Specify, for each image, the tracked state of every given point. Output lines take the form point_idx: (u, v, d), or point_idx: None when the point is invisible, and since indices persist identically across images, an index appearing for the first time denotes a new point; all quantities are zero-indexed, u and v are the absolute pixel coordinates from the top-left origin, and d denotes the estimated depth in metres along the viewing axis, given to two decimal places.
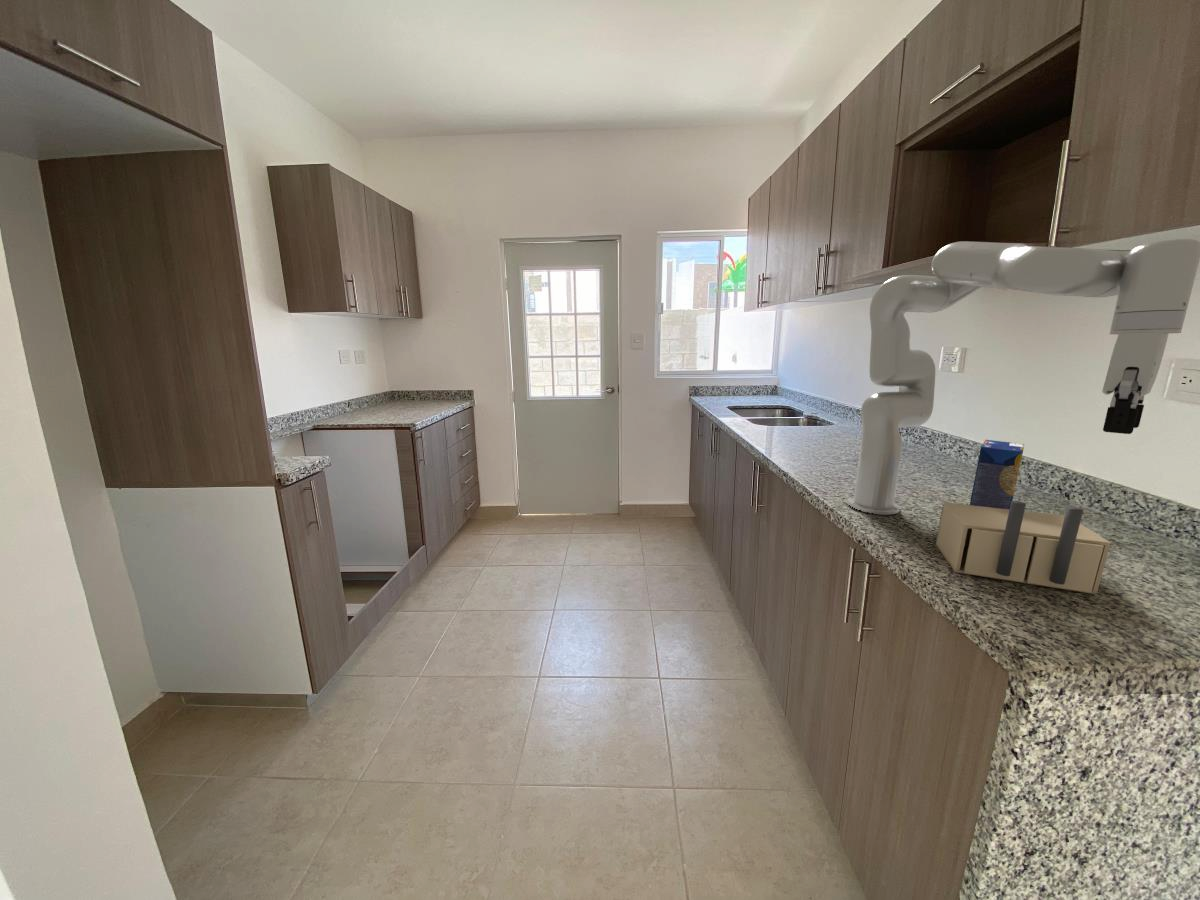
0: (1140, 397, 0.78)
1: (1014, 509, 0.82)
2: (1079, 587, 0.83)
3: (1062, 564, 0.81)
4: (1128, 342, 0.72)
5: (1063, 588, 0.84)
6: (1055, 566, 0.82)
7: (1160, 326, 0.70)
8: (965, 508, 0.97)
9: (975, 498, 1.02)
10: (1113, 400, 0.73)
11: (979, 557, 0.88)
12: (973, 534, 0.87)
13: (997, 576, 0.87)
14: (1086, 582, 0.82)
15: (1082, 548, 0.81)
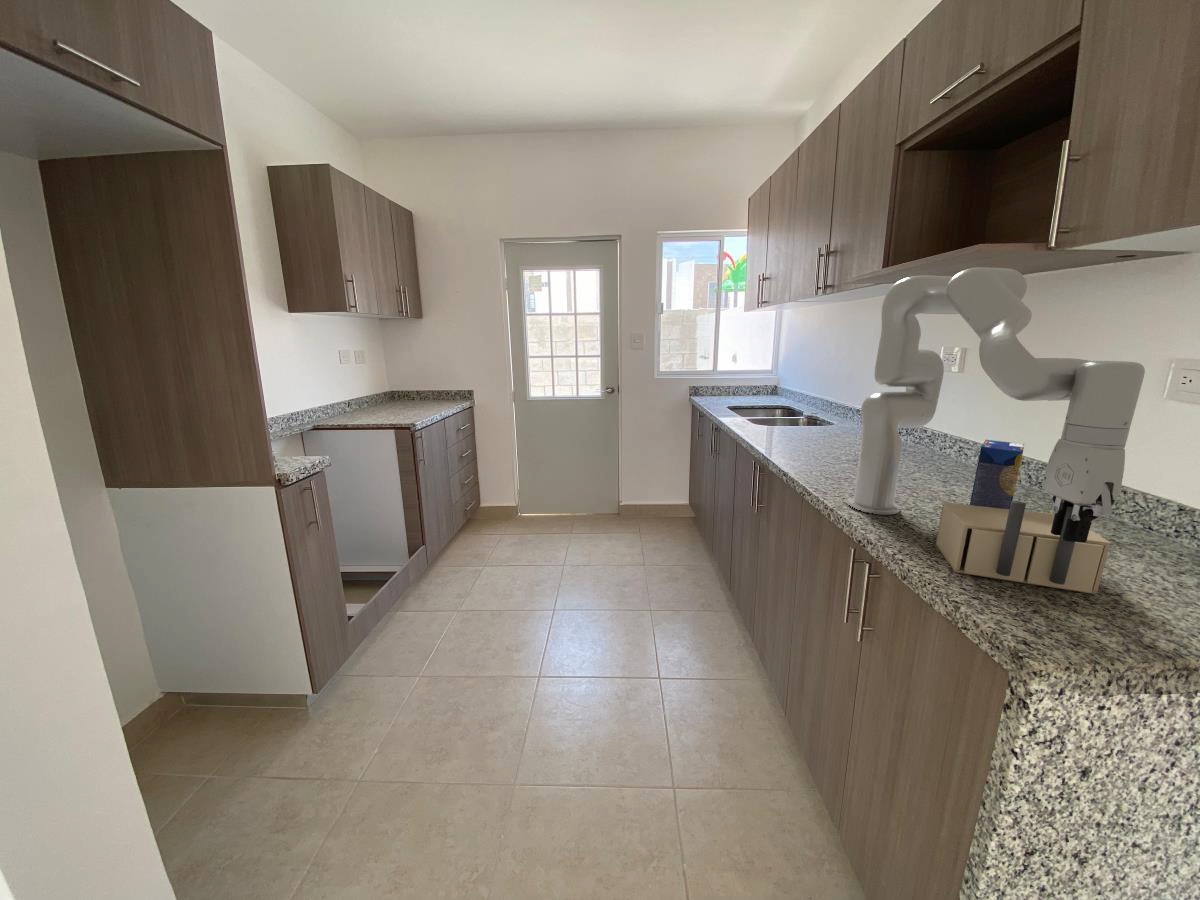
0: None
1: (1014, 509, 0.82)
2: (1079, 587, 0.83)
3: (1062, 564, 0.81)
4: (1105, 458, 0.73)
5: (1063, 588, 0.84)
6: (1055, 566, 0.82)
7: (1122, 443, 0.73)
8: (965, 508, 0.97)
9: (975, 498, 1.02)
10: (1078, 516, 0.78)
11: (979, 557, 0.88)
12: (973, 534, 0.87)
13: (997, 576, 0.87)
14: (1086, 582, 0.82)
15: (1082, 548, 0.81)
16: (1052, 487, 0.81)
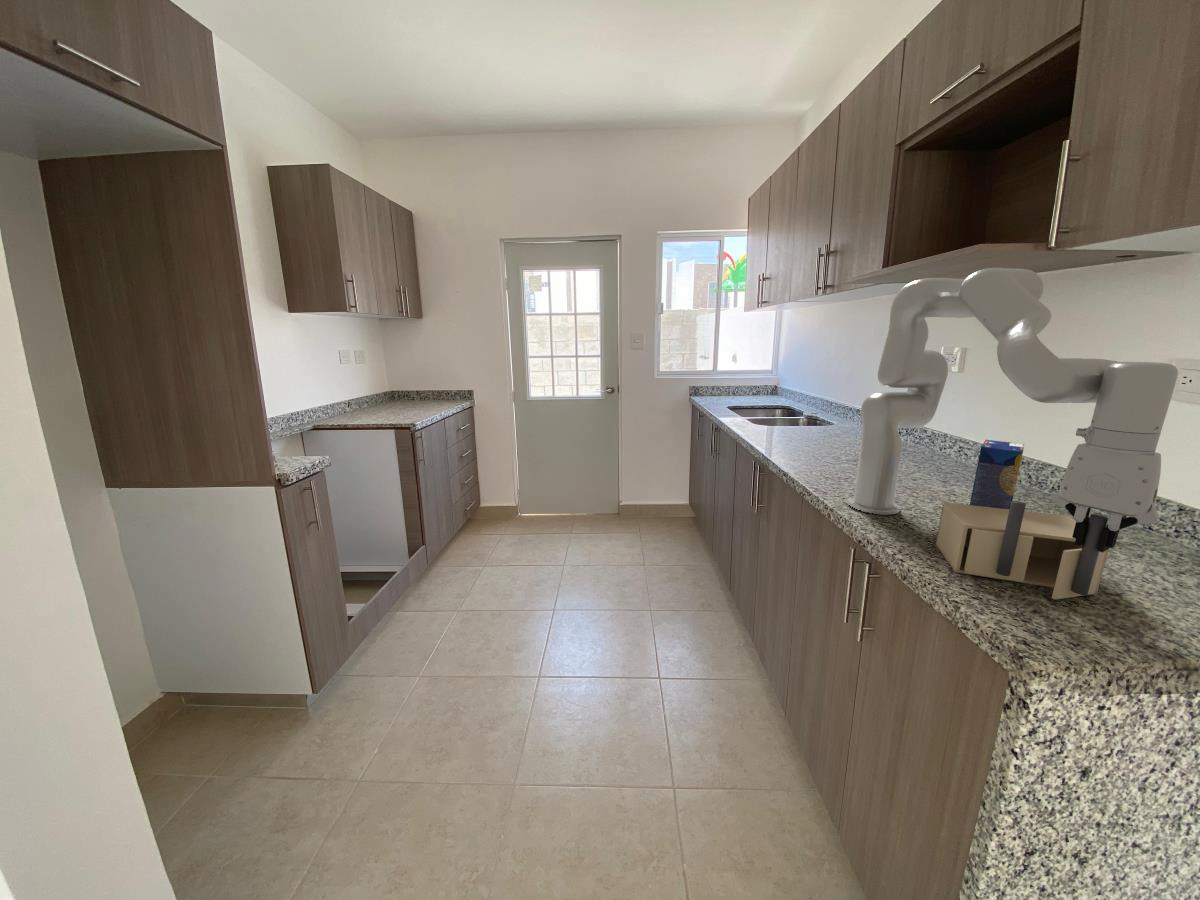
0: None
1: (1014, 509, 0.82)
2: (1087, 591, 0.81)
3: (1090, 575, 0.78)
4: (1158, 465, 0.69)
5: None
6: (1082, 578, 0.78)
7: None
8: (965, 508, 0.97)
9: (975, 498, 1.02)
10: (1119, 526, 0.74)
11: (979, 557, 0.88)
12: (973, 534, 0.87)
13: (997, 576, 0.87)
14: (1092, 585, 0.81)
15: None
16: (1082, 498, 0.76)
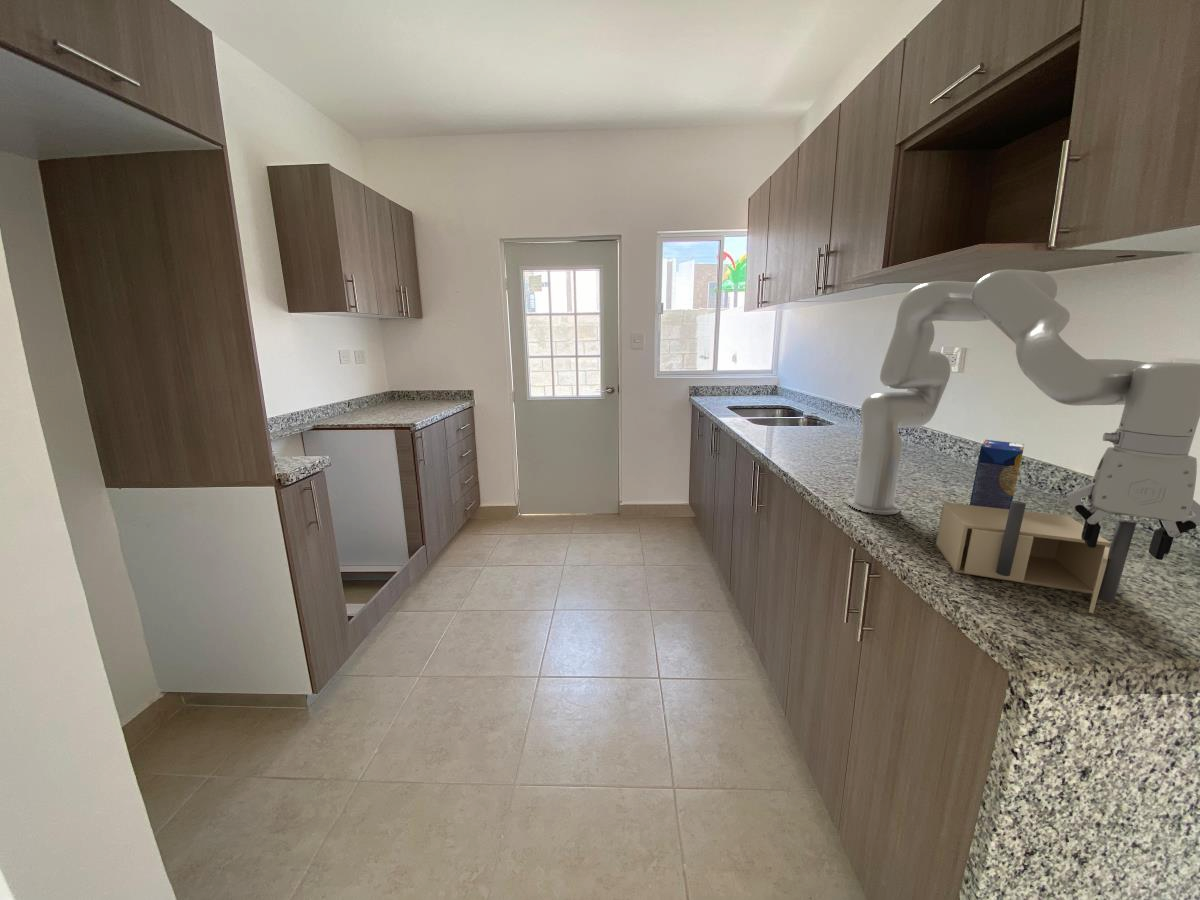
0: None
1: (1014, 509, 0.82)
2: None
3: None
4: None
5: (1063, 588, 0.84)
6: (1113, 586, 0.75)
7: None
8: (965, 508, 0.97)
9: (974, 498, 1.02)
10: (1178, 530, 0.70)
11: (979, 557, 0.88)
12: (973, 534, 0.87)
13: (997, 576, 0.87)
14: None
15: None
16: (1123, 506, 0.72)
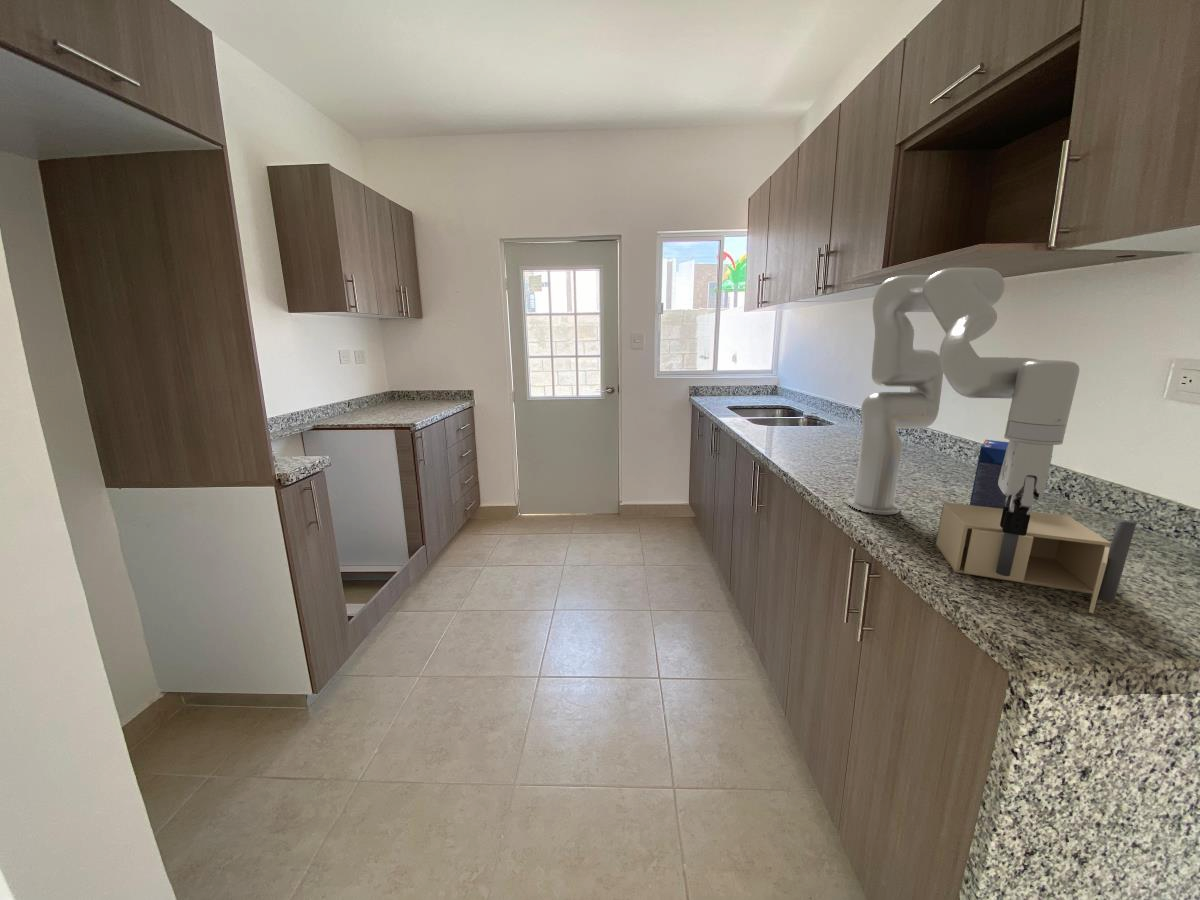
0: None
1: None
2: None
3: None
4: (1027, 452, 0.77)
5: (1063, 588, 0.84)
6: (1113, 586, 0.75)
7: (1051, 439, 0.76)
8: (965, 508, 0.97)
9: (975, 498, 1.02)
10: (1011, 508, 0.81)
11: (979, 557, 0.88)
12: (973, 534, 0.87)
13: (997, 576, 0.87)
14: None
15: None
16: (1000, 481, 0.85)
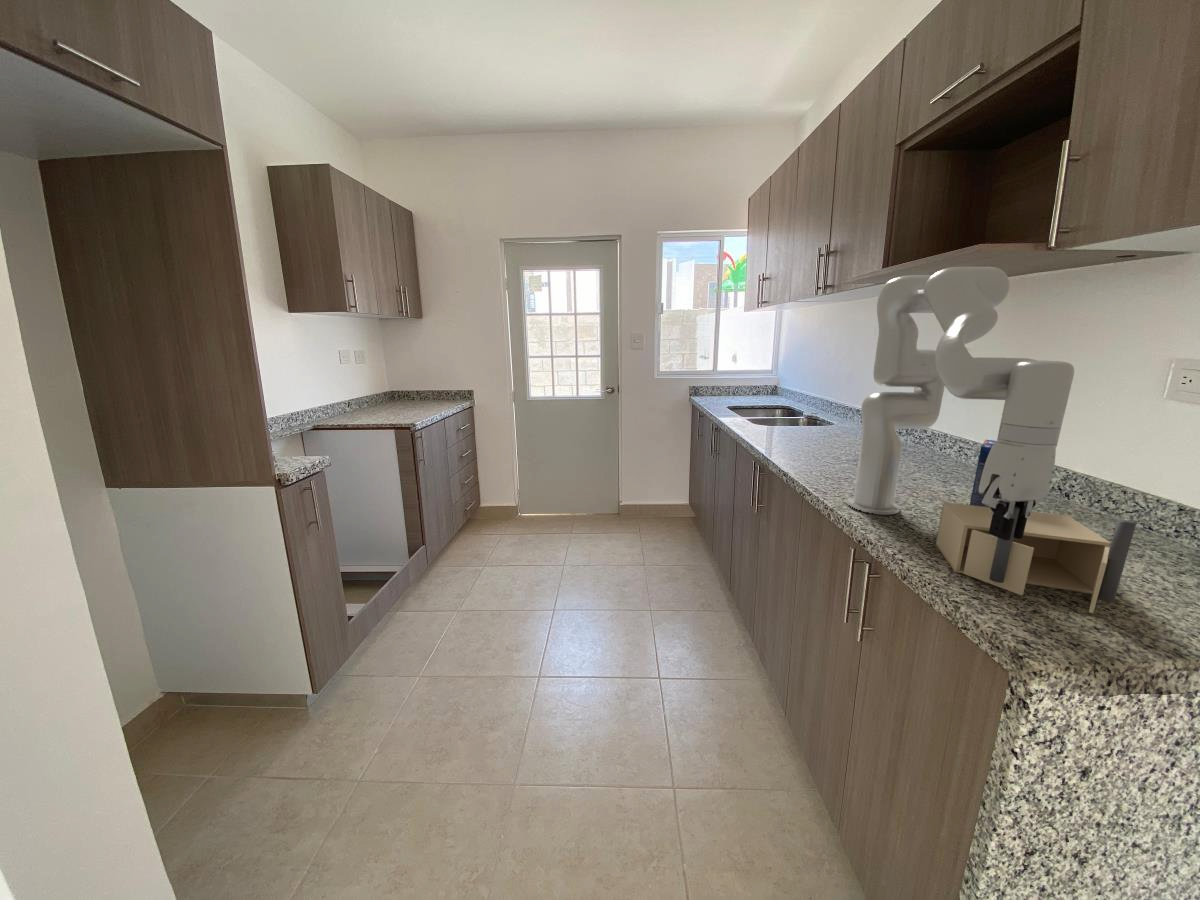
0: (1025, 506, 0.80)
1: None
2: None
3: None
4: (995, 451, 0.78)
5: (1063, 588, 0.84)
6: (1113, 586, 0.75)
7: (1023, 440, 0.75)
8: (965, 508, 0.97)
9: (975, 498, 1.02)
10: None
11: (977, 560, 0.87)
12: (972, 535, 0.87)
13: (995, 583, 0.84)
14: None
15: None
16: None
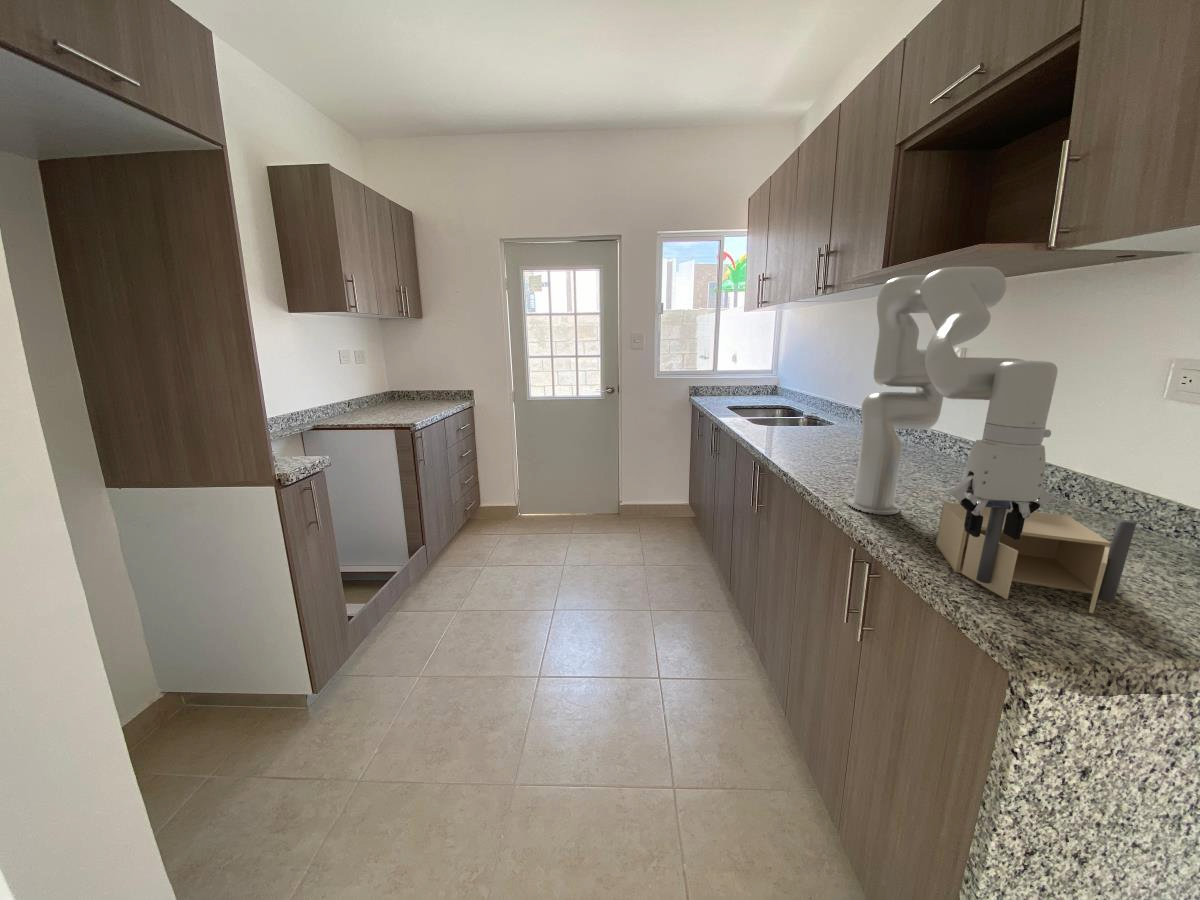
0: (1019, 508, 0.79)
1: (990, 512, 0.81)
2: None
3: None
4: (973, 449, 0.80)
5: (1063, 588, 0.84)
6: (1113, 586, 0.75)
7: (996, 439, 0.76)
8: None
9: None
10: None
11: (972, 560, 0.86)
12: (970, 535, 0.87)
13: (985, 585, 0.84)
14: None
15: None
16: None
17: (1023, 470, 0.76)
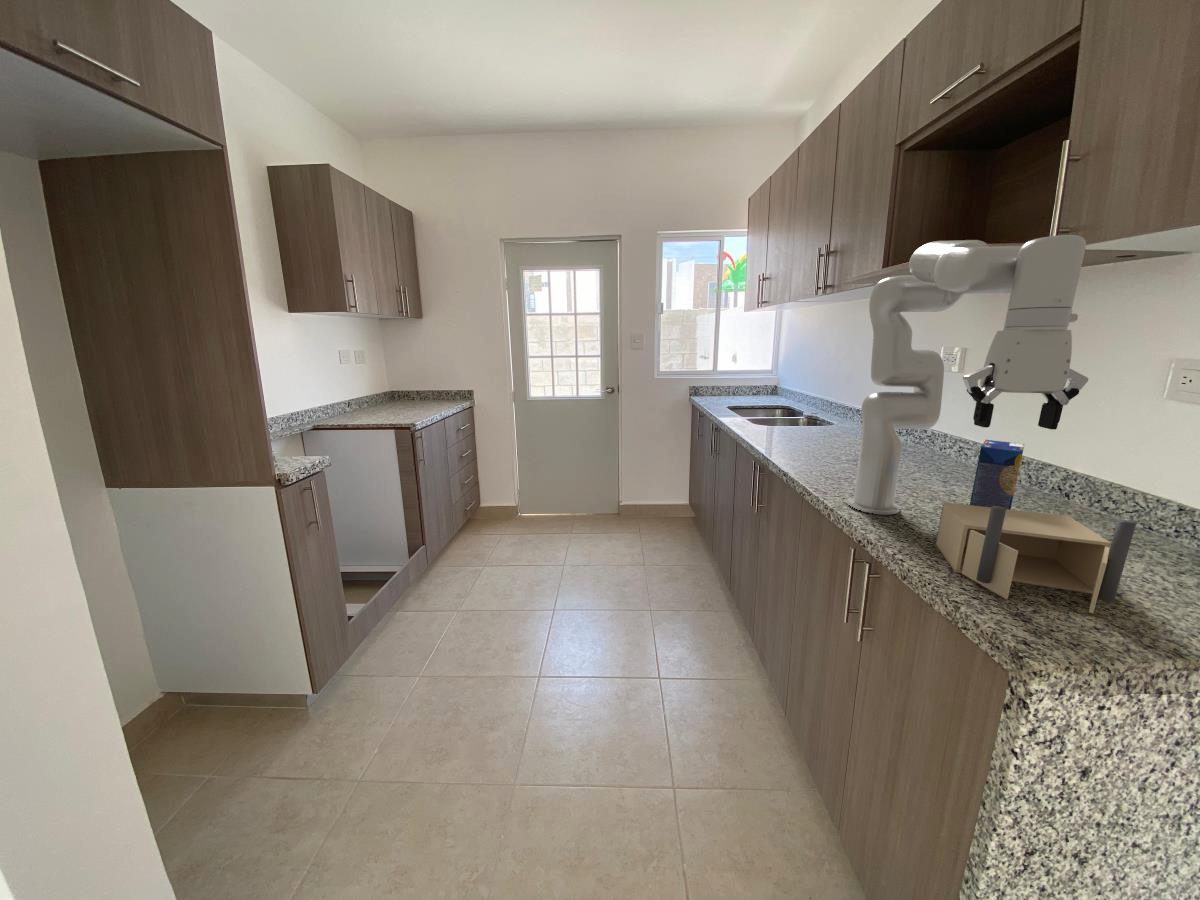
0: (1054, 397, 0.74)
1: (990, 512, 0.81)
2: None
3: None
4: (994, 339, 0.75)
5: (1063, 588, 0.84)
6: (1113, 586, 0.75)
7: (1019, 324, 0.72)
8: (965, 508, 0.97)
9: (975, 498, 1.02)
10: None
11: (972, 560, 0.86)
12: (970, 535, 0.87)
13: (985, 585, 0.84)
14: None
15: None
16: None
17: (1048, 356, 0.72)
